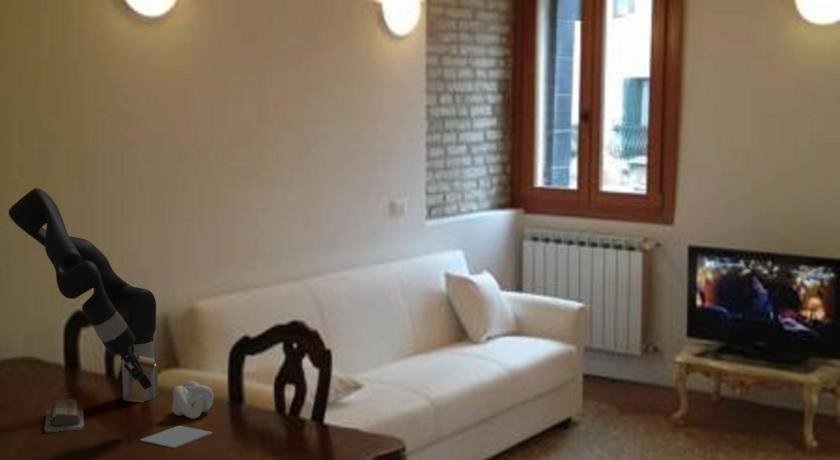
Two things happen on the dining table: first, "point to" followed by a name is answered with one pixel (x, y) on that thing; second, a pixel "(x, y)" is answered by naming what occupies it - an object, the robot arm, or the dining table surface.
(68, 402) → the packaged product
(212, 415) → the dining table surface
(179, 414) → the white decorative knot
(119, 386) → the dining table surface
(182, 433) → the felt mat
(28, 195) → the robot arm
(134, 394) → the oak block
